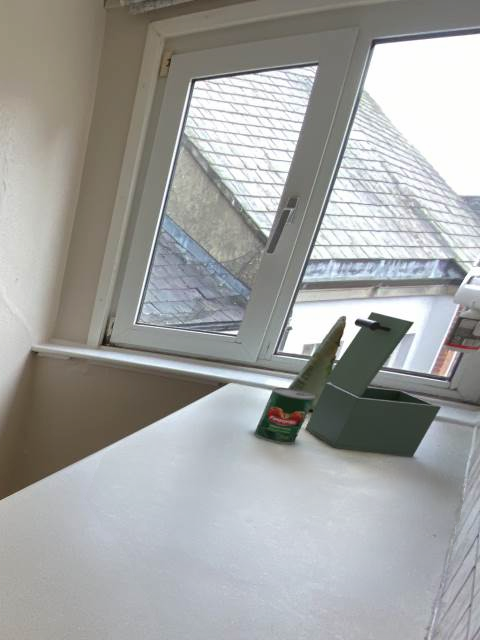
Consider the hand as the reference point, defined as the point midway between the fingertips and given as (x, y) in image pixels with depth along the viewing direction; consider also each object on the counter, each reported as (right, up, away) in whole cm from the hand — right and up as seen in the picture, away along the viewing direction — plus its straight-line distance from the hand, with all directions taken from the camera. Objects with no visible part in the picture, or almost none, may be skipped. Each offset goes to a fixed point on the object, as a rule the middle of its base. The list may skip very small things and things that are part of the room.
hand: (469, 332), depth 111 cm
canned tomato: (-25, -20, +18) cm, 37 cm away
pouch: (+1, -10, +42) cm, 43 cm away
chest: (-6, -21, +18) cm, 28 cm away
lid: (-11, -2, +10) cm, 15 cm away
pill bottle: (0, -3, +2) cm, 4 cm away
